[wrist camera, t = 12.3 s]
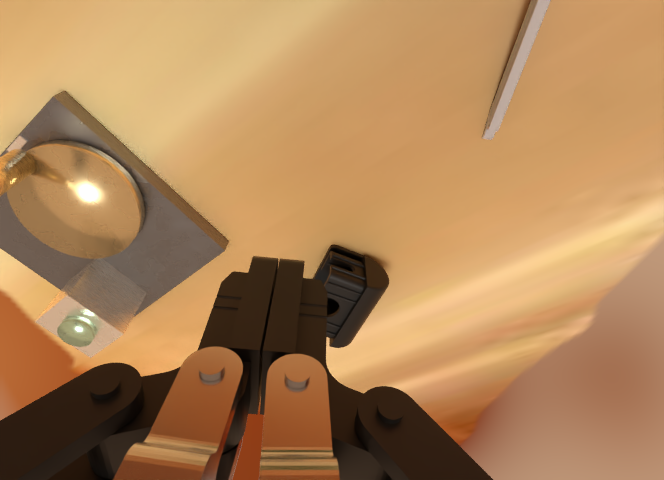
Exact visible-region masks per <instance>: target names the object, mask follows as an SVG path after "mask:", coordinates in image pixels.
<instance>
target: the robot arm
mask: <svg viewBox="0 0 664 480" xmlns="http://www.w3.org/2000/svg"><path fill="white" fill-rule="evenodd" d="M303 271H304V261H299V260H289V259H280V261H279V267H278V258H268V257H258V256H253V258H252V262H251V265H250V269H249V272H248V273H243V272H232V273H231V274H230V275H229V276H228V277H227V278H226V279H225V280H223V281H222V283H221V286H220V288H219V291H218V294H217V298H216V300H215V303H214V305H213V309H212V311H211V314H210V317H209V320H208V322H207V325H206V328H205V331H204V334H203V337H202V339H201V342H200V345H199V348H198V350H197V351H196V352H194V353H193V354H191V355H190V356H189V357H187V359H186V360H185V361H184V362H183V364H182V366H181V367H179V368H177V369H175V370H172V371H169V372H165V373H160V374H154V375H149V376H143V377H141V376H140V374H139V372H138V371H137V370H136V369H135V368H134V367H132V366H130V365H127V364H124V363H108V364H103V365H100V366H97V367H94V368H92V369H90V370H89V371H87V372H85V373H83V374H81V375H80V376H78V377H76V378H74V379H73V380H71V381H69V382H68V383H66V384H64V385H62V386H60V387H59V388H57V389H55V390H53V391H52V392H50V393H48V394H46V395H45V396H43V397H41V398H40V399H38V400H36V401H34V402H32V403H31V404H29V405H27V406H25V407H24V408H22V409H20V410H18V411H17V412H15V413H13V414H11V415H10V416H8V417H6V418H4V419H2V420H1V421H0V480H232V478H233V474H234V471H235V467H236V464H237V460H238V456H239V453H240V449H241V445H242V437H243V435H244V432H245V427H246V422H247V417H248V414H258V408H259V402H260V397H261V406H260V414H263V415H264V424H263V439H262V451H261V452H262V453H261V460H260V473H259V480H493V479H492V478H491V477H490V476H489V475H488V474H487V473H486V472H485V471H484V470H483V469H482V468H481V467H480V466H479V465H478V464H477V463H476V462H475V461H474V460H473V459H472V458H471V457H470V456H469V455H468V454H467V453H466V452H465V451H464V450H463V449H462V448H461V447H460V446H459V445H458V444H457V443H456V442H455V441H454V440H453V439H452V438H451V437H450V436H449V435H448V434H447V433H446V432H445V431H444V430H443V429H442V428H441V427H440V426H439V425H438V424H437V423H436V422H435V421H434V420H433V419H432V418H431V417H430V416H429V415H428V414H427V413H426V412H425V411H424V410H423V409H422V408H421V407H420V406H419V405H418V404H417V403H416V402H415V401H414V400H413V399H412V398H411V397H410V396H408V395H407V394H406V393H404V392H403V391H401V390H398V389H396V388H393V387H387V386H381V387H375V388H372V389H370V390H368V391H367V392H365V393H364V394H363V393H361V392H358V391H355V390H353V389H350V388H348V387H346V386H344V385H342V384H341V383H339V382H338V381H337V380H336V379H335V378H334V377H333V376H332V375H331V374H330V372H329V370H328V368H327V365H326V330H327V293H328V292H327V290H326V288H325V287H324V285H323V283H322V281H321V280H317V279H306V278H303Z"/></svg>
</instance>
